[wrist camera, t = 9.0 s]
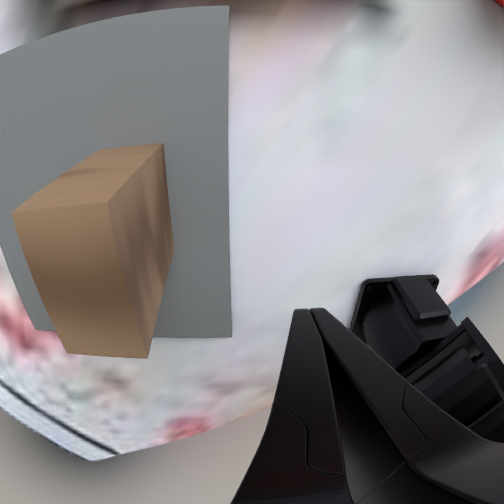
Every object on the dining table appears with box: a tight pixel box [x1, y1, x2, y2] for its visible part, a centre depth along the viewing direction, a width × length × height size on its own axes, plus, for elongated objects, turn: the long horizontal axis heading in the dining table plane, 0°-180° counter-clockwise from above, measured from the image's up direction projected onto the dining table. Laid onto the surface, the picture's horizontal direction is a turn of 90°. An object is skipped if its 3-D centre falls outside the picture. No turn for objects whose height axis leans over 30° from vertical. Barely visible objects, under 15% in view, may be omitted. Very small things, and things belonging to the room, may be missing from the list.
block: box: [11, 143, 175, 359], centre depth 12 cm, size 6×4×8 cm, turn 0°
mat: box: [0, 6, 232, 338], centre depth 16 cm, size 20×16×1 cm
